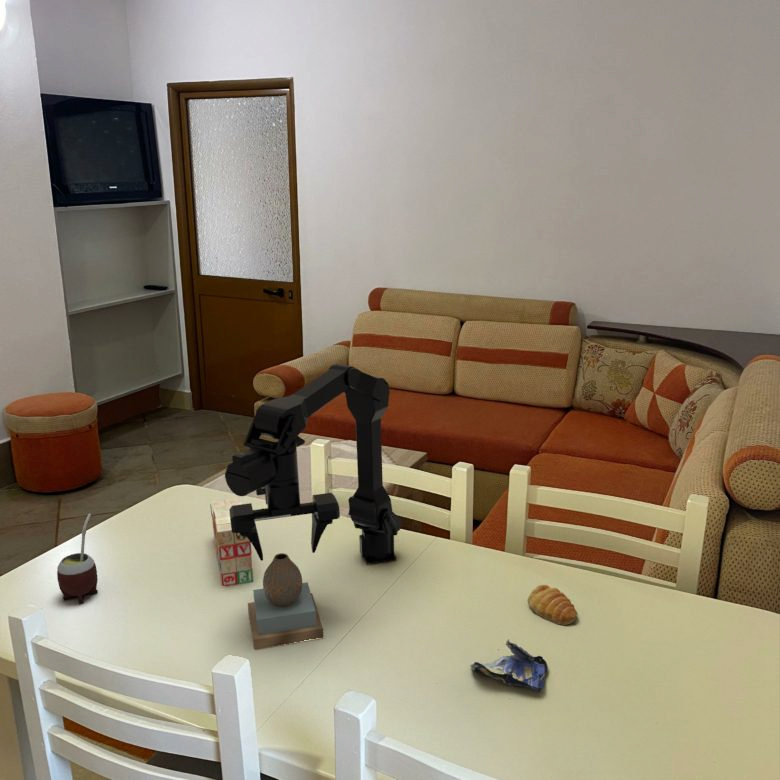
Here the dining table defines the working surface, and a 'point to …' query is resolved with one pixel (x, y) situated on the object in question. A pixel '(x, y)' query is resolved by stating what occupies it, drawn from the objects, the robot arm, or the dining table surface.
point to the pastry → (552, 605)
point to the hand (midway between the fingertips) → (287, 555)
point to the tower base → (283, 632)
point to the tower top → (284, 612)
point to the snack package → (517, 668)
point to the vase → (282, 581)
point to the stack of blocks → (230, 546)
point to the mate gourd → (77, 573)
